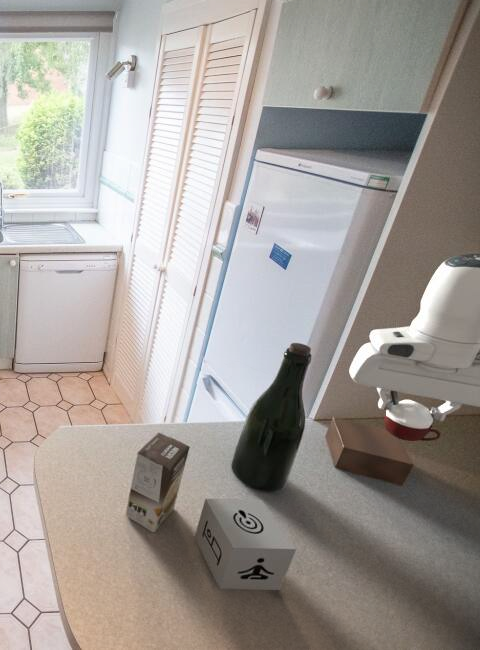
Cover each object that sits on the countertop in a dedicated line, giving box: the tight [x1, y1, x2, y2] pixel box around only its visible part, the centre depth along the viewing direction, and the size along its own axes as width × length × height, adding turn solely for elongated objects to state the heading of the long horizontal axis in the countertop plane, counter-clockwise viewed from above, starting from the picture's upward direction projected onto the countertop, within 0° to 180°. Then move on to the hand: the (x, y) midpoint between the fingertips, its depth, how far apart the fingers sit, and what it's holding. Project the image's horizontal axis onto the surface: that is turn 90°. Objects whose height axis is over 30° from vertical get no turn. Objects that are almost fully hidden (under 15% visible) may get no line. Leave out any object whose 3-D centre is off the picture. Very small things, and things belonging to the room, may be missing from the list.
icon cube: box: [194, 498, 297, 591], centre depth 79 cm, size 10×10×10 cm
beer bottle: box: [230, 342, 313, 493], centre depth 94 cm, size 10×10×33 cm
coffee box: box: [124, 432, 191, 533], centre depth 88 cm, size 9×6×16 cm
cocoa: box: [384, 390, 442, 442], centre depth 82 cm, size 10×6×12 cm, turn 6°
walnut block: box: [324, 416, 414, 487], centre depth 104 cm, size 12×12×6 cm
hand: (408, 413), depth 83 cm, fingers closed on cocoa, 6 cm apart
